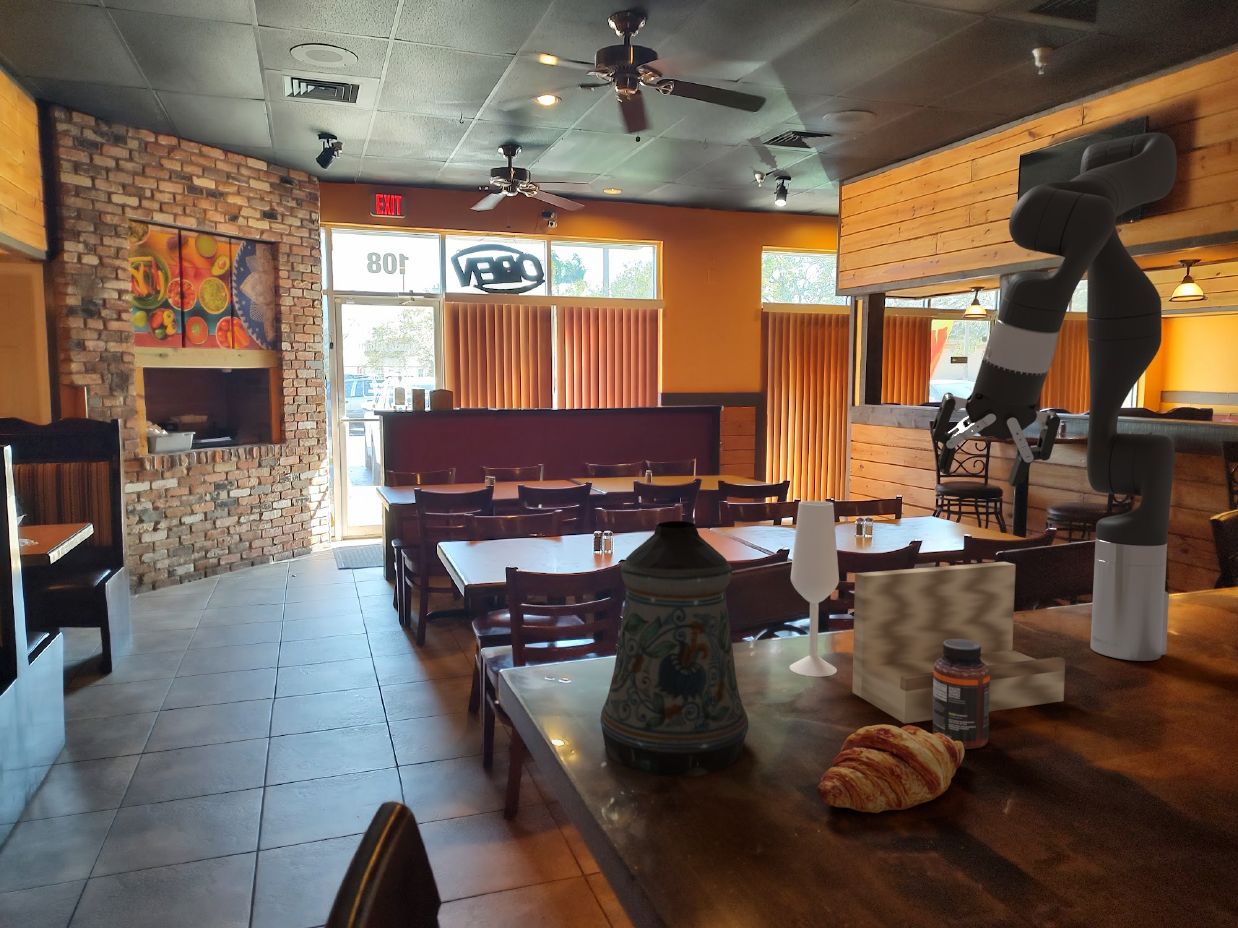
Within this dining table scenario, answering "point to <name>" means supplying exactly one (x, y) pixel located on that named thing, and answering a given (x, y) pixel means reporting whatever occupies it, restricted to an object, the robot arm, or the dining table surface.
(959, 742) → the croissant
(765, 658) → the dining table surface
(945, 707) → the supplement bottle
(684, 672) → the beer stein
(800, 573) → the champagne flute
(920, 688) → the board
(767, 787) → the dining table surface
